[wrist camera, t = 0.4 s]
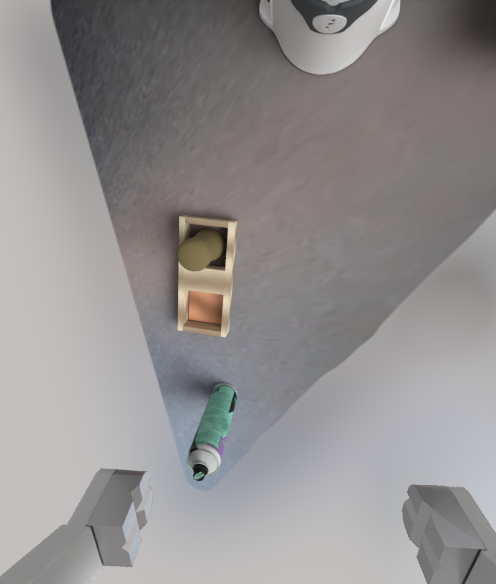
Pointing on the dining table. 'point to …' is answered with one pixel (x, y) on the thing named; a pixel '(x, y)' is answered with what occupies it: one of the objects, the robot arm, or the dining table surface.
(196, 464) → the spray can
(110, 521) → the robot arm
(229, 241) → the socket rail
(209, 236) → the olive round-headed peg
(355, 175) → the dining table surface
